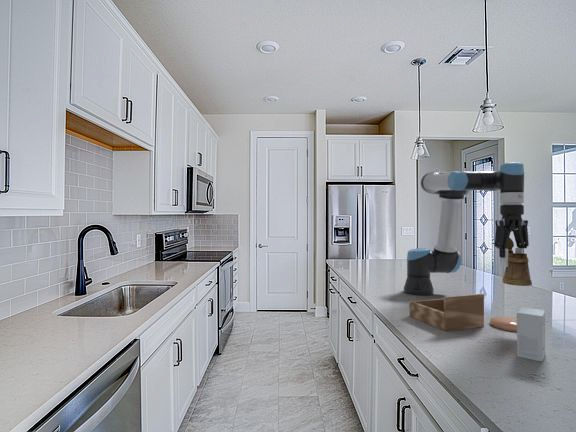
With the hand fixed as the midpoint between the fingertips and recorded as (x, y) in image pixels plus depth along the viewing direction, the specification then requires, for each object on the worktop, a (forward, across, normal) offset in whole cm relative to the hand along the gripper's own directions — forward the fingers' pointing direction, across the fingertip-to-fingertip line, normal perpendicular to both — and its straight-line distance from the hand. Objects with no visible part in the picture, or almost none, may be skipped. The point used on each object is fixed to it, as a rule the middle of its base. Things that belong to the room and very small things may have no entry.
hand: (511, 265), depth 135 cm
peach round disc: (+23, 0, 0) cm, 23 cm away
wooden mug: (+7, +1, 0) cm, 7 cm away
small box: (+23, -20, -23) cm, 38 cm away
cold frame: (+23, -19, +13) cm, 32 cm away
